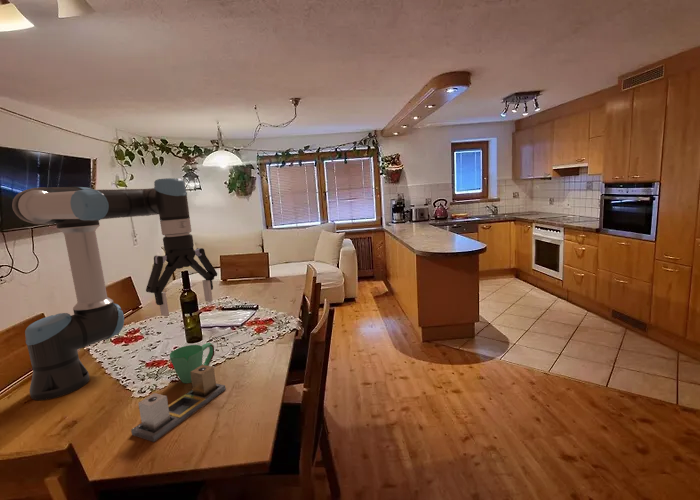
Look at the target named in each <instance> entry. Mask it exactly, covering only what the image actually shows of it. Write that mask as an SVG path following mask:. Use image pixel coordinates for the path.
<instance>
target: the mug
mask: <svg viewBox="0 0 700 500" xmlns="http://www.w3.org/2000/svg"><path fill="white" fill-rule="evenodd" d="M207 348H209V351H208V354H207V356H206V359H205V361H204V363H203V357H204V355H203V354H204V351H205V350H206V349H207ZM214 356H215V345H214V344H213V343H211V342H206V343H204V344H202V345H200V344H190V345H185V346H182V347H181V346H180V347H178V348H176V349H174V350H172V351H171V352H170V353H169V358H170V361H171V364H172V366H173V368H174V371H175V373H176V375H177V377H178V378H179V380H180V381H181V383H182V384H190V383H191V384H192V381H191V374H190V372H191V371H193V370H194V369H196V368H198V367H199V366H201V365H206V366H210V364H211V362H212V361H213V358H214Z"/></svg>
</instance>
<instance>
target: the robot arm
mask: <svg viewBox="0 0 700 500" xmlns="http://www.w3.org/2000/svg"><path fill="white" fill-rule="evenodd" d="M153 184H154V186H153V187H152V188H127V189H126V188H125V189H124V188H123V189H122V188H121V189H120V188H119V189H95V188H94V189H93V188H91V187H83V186H63V187H61V186H60V187H59V186H57V187H52V186H51V187H43V186H42V187H38V186H37V187H32V188H27V189H25V190H23V191H20V192H18V193H17V194H16V195H15V196H14V198H13V199H12V204H11V206H12V207H11V208H12V210H13V212H14V214H15V216H17V217H18V218H19V220H21V221H24V222H27V223H30V224H34V225H56V229H57V231H59V232H61V233H62V234H63V236H64V239H65V240H64V241H65V246H66V250H67V256H68V261H69V266H70V272H71V275H72V276H71V277H72V280H73V285H74V292H75V295H76V296H75V297H76V302H77V303H76V304H75V305H74V306H73V308H72V311H73V314H72V315H71V314H70V313H69V312H61V313H56V314H53V315H48V316H46V317H45V316H44V317H43V318H41V319H38V320H36V321H34V322H32V323H30V324H29V325H28V326H27V327H26V329H25V331H24V334H25V335H24V336H25V344H26V347H27V351H28V354H29V360H30V363H31V368H32V376H31V381H30V386H29V396H30V398H31V400H34V401H45V400H51V399H55V398H59V397H60V398H61V397H63V396H65V395H69V394H71V393H73V392H75V391H77V390H79V389H81V388H82V387H84V386H86V384H88V383H89V382H90V374H89V371H88V370H87V368H86V367H85V365H84V364H83V362H82V361H81V359H80V356H79V352H78V351H79V350H81V349H83V348H86V347H88V346H91V345H94V344H96V343H99V342H102V341H106V340H109V339H111V338H113V337H114V336H117V335H118V334H120V332H121V331H122V330H123V328H124V325H125V316H124V314H125V313H124V312H123V310H122V308H121V306H120V305H119V304H118V303H115V302H114V299H112V298H110V297H108V293H107V288H106V282H105V276H104V270H103V265H102V261H101V255H100V249H99V244H98V238H97V233H96V230H97V229H98V228H99V227H100V221H102V220H110V219H118V218H120V219H121V218H131V217H132V218H133V217H145V216H146V217H148V216H155V215H156V216H157V215H158V217H159V221H160V229H161V235H162V236H164V237H163V238H162V243H163V249H164V252H165V254H164V255H154V256H153V266H152V269H151V271H150V275H149V279H148V282H147V284H146V288H145V292H146V293H150V294H154V298H155V299H154V300H155V304H156V305H157V306H159V310H160V315H161V316H163V317H166V318H167V317H169V316H170V312H169V306H168V299H167V293H166V292H165V291H164V289H165V287H166V286H167V284H168V282H169V280H170V279H171V277H172V275H173V274H174V273H175V271H176V270H177V269H179V270H180V269H183V268H189V267H191V269H193V270H194V271H196V272H197V273H198V274H199V276H201V277H202V278H203V279H204V280H202V282H201V283H202V287H203V295H204V301H205V302H209V303H213V302H214V299H213V292H212V290H214V286H213V281H214V280H215V277H217V276H218V272H217V271H216V269H215V268H214V266H213V264H212V263H211V261H210V260H209V258H208V257H207V255H206V252H205V248H203V247H202V248H201V247H200V248H199V247H198V248H196V249H194V246H195V245H194V238H193V235H192V234H191V233H192V225H191V219H190V209H189V202H188V193H187V190H186V186H185V185H186V183H185V181H184V180H183V178H179V177H178V178H175V177H171V178H170V177H169V178H158V179H155V181H154V183H153ZM195 257H197V258H198V260H199V262H200V263H201V264H202V265H201V264H199V262H198V261H197V260H196V259H195ZM165 262H167V264H166V265H165V268H164V271H163V267H164V264H165ZM162 271H163V272H162ZM161 273H162V274H161Z"/></svg>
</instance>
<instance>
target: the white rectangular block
mask: <svg viewBox="0 0 700 500" xmlns="http://www.w3.org/2000/svg"><path fill="white" fill-rule="evenodd" d="M168 402H169V401H168V395H163V394H159V393H157V392H153V393H152V394H151V395H149V396H147V397H146V398H144V399H142V400H140V401H139V402H138V403H137V404H138V409H139V415H140V420H141V423H142V427H143V430H146V431H149V432H152V433H155V432H156V431H158V430H159V429H161V428H162V427H164V426H165V425H166V424H168V423H169V422H171V420H170V414H169V407H168V405H169V404H168Z"/></svg>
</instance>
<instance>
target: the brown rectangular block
mask: <svg viewBox="0 0 700 500" xmlns="http://www.w3.org/2000/svg"><path fill="white" fill-rule="evenodd" d="M190 374H191V381H192V382H191V386H192V390H193V394H194V395H196V396H201V397H206V396H208V395H209V394H210V393H212V392H213V391H215V390H216V389H217V388H216V384H217V382H216V375H215V374H216V373H215V366H212V365H211V366H210V365H209V366H206V365H203V364H202V365H201V366H199V367H198V368H196V369H194V370H193V371H191V372H190Z"/></svg>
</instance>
